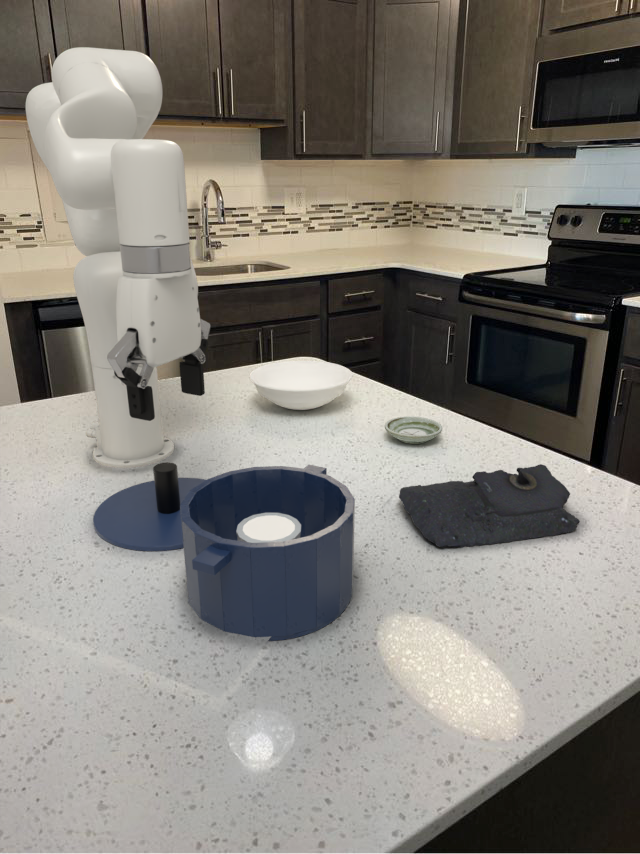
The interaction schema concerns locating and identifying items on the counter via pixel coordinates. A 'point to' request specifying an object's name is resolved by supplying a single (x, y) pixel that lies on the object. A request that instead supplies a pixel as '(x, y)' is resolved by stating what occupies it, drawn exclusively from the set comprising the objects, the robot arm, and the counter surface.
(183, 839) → the counter surface
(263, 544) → the pot
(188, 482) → the lid
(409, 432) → the saucer
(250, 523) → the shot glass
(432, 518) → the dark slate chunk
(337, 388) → the bowl
